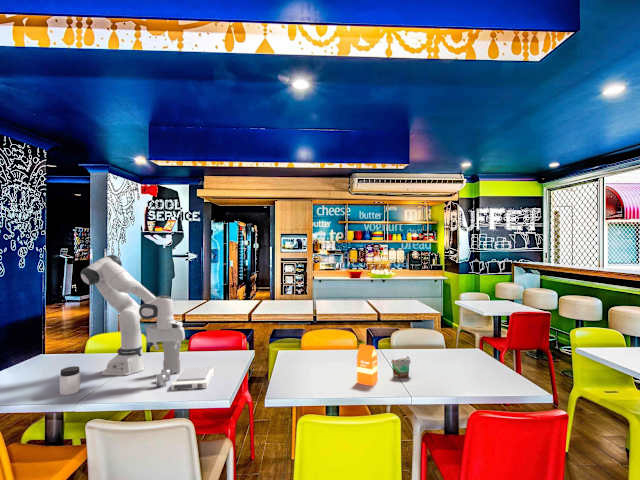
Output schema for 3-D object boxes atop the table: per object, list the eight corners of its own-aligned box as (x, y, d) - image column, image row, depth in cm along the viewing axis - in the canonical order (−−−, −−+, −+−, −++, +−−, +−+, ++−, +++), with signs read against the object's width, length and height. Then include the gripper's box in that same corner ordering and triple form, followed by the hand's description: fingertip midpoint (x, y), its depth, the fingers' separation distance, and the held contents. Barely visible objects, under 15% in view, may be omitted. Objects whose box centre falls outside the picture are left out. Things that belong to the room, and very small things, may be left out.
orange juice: (371, 385, 191) (371, 348, 191) (356, 382, 196) (356, 345, 196) (377, 381, 198) (377, 344, 198) (363, 378, 202) (362, 342, 203)
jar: (77, 387, 193) (77, 365, 193) (82, 391, 188) (82, 368, 188) (57, 392, 186) (57, 369, 186) (62, 396, 181) (62, 372, 181)
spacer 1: (160, 382, 199) (160, 371, 199) (162, 379, 203) (162, 368, 204) (168, 382, 199) (168, 371, 200) (171, 378, 204) (171, 368, 204)
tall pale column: (161, 374, 211) (161, 337, 211) (164, 372, 215) (163, 335, 215) (179, 374, 212) (179, 336, 212) (182, 371, 216) (181, 334, 216)
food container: (398, 380, 198) (398, 362, 198) (391, 377, 203) (391, 359, 203) (415, 376, 203) (415, 359, 204) (408, 373, 209) (407, 356, 209)
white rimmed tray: (170, 390, 187) (170, 383, 187) (181, 375, 209) (181, 368, 209) (206, 388, 189) (206, 381, 189) (213, 373, 212) (213, 366, 212)
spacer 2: (155, 388, 191) (155, 376, 191) (158, 384, 195) (158, 373, 196) (164, 387, 191) (164, 376, 192) (167, 384, 196) (166, 373, 196)
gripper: (144, 326, 198) (144, 351, 197) (182, 324, 200) (183, 349, 200) (148, 324, 204) (148, 348, 204) (185, 322, 206) (185, 346, 206)
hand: (165, 349), depth 202 cm, fingers open, 8 cm apart
